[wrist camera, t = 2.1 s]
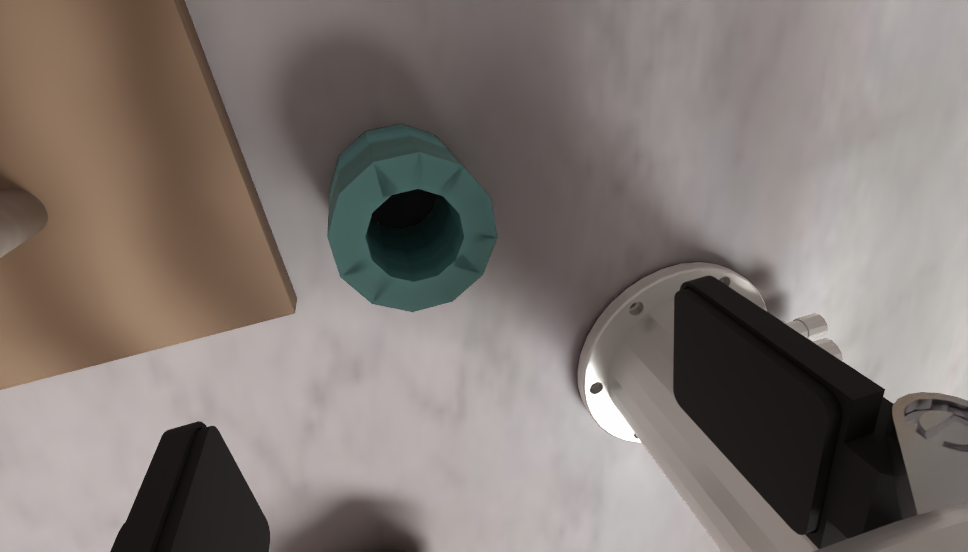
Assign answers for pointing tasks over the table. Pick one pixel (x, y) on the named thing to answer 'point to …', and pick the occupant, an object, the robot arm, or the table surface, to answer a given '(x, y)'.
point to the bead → (414, 249)
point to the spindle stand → (120, 191)
